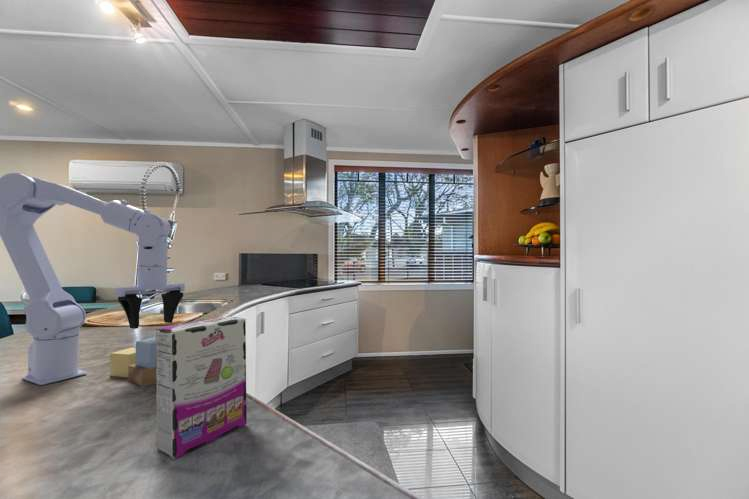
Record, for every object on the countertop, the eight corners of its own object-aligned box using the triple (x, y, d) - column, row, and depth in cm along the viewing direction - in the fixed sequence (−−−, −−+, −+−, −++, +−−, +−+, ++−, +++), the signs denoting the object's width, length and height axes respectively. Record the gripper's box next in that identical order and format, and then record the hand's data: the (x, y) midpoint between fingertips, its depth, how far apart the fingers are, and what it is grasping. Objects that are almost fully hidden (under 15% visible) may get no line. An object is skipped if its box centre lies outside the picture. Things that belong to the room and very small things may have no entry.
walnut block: (128, 381, 73) (128, 365, 74) (163, 372, 79) (163, 357, 79) (142, 388, 69) (142, 371, 70) (178, 378, 75) (178, 362, 75)
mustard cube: (110, 376, 76) (110, 353, 77) (130, 369, 81) (131, 347, 81) (128, 377, 75) (129, 354, 75) (148, 370, 80) (148, 348, 80)
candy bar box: (227, 417, 56) (228, 315, 56) (247, 425, 53) (248, 317, 53) (152, 450, 46) (154, 326, 47) (172, 461, 44) (174, 330, 44)
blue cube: (149, 368, 71) (150, 344, 71) (135, 365, 73) (135, 341, 73) (173, 362, 76) (173, 339, 76) (158, 359, 78) (159, 336, 78)
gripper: (128, 267, 72) (127, 332, 72) (192, 265, 85) (192, 321, 84) (110, 267, 75) (109, 329, 75) (174, 265, 88) (174, 319, 88)
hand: (151, 325), depth 80 cm, fingers open, 7 cm apart
